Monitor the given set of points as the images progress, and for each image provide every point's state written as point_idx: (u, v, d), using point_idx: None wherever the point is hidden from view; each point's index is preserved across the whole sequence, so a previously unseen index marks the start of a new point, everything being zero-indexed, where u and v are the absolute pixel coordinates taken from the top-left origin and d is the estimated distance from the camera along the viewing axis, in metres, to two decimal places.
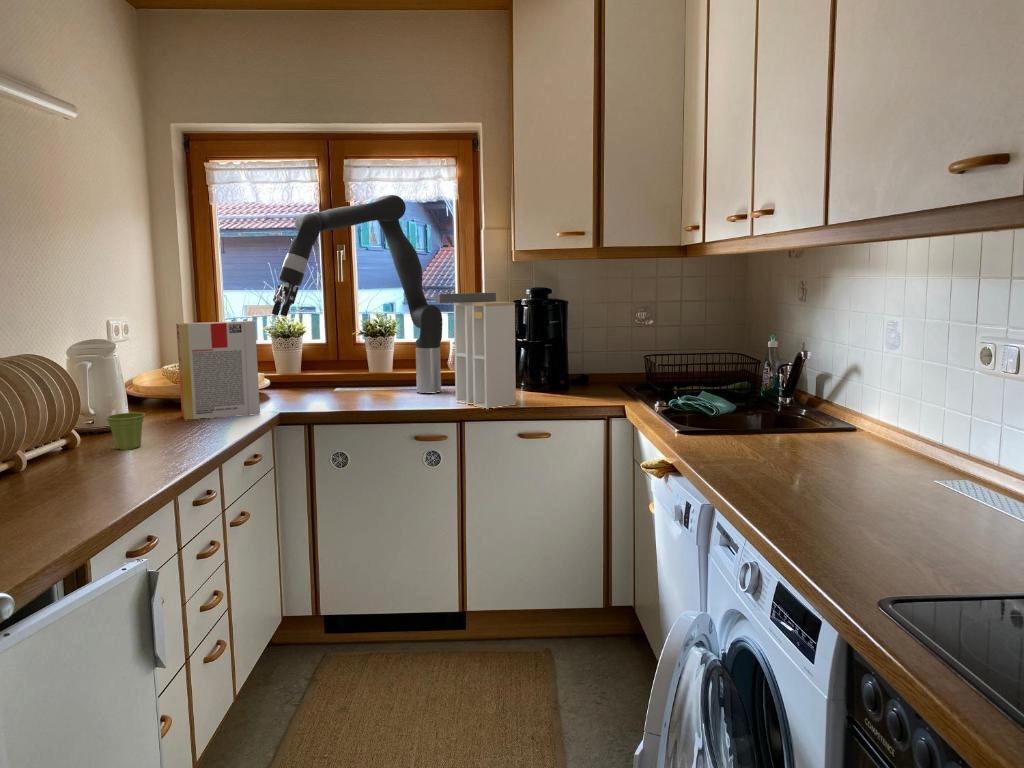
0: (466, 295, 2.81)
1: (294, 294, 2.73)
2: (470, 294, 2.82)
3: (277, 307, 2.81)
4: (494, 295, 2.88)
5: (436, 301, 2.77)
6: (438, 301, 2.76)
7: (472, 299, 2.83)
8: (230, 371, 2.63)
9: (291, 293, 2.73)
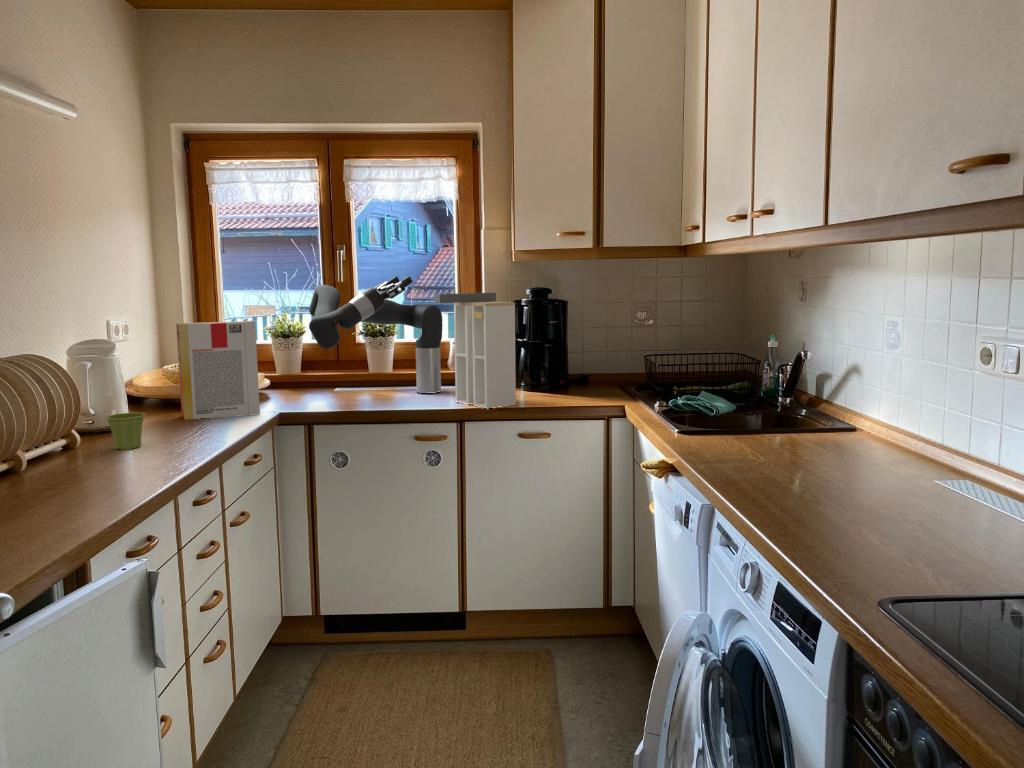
0: (466, 295, 2.81)
1: (396, 289, 2.61)
2: (470, 294, 2.82)
3: (392, 283, 2.72)
4: (494, 295, 2.88)
5: (436, 301, 2.77)
6: (438, 301, 2.76)
7: (472, 299, 2.83)
8: (230, 371, 2.63)
9: (397, 292, 2.61)
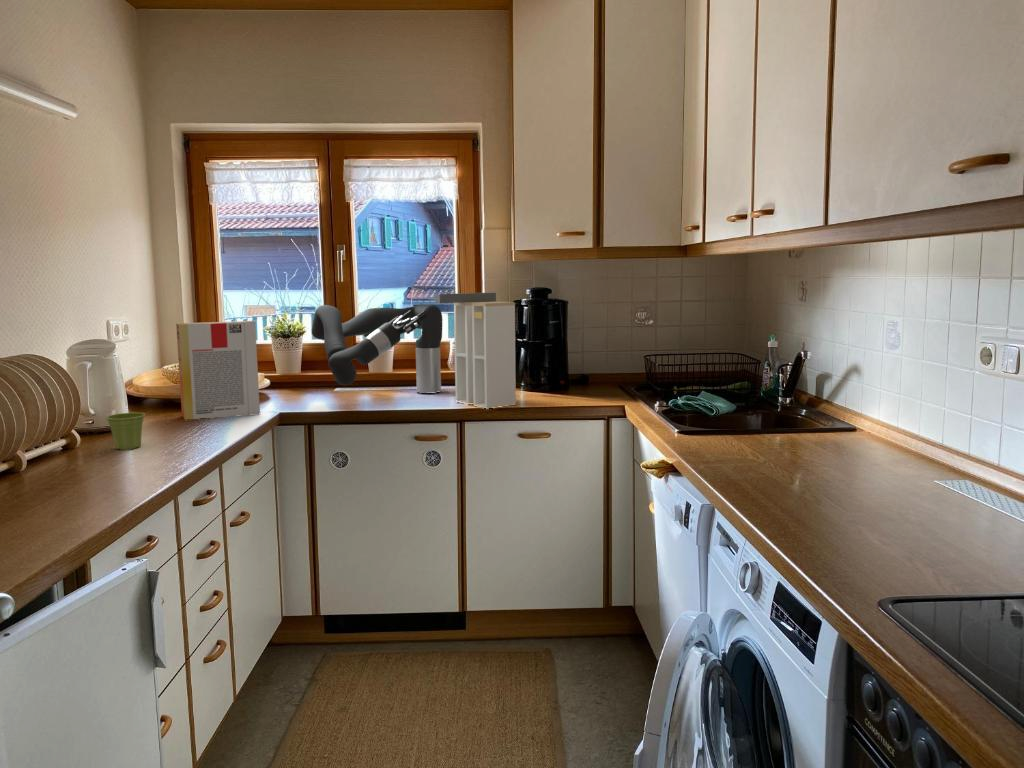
0: (466, 295, 2.81)
1: (412, 324, 2.64)
2: (470, 294, 2.82)
3: (407, 317, 2.75)
4: (494, 295, 2.88)
5: (436, 301, 2.77)
6: (438, 301, 2.76)
7: (472, 299, 2.83)
8: (230, 371, 2.63)
9: (414, 327, 2.64)
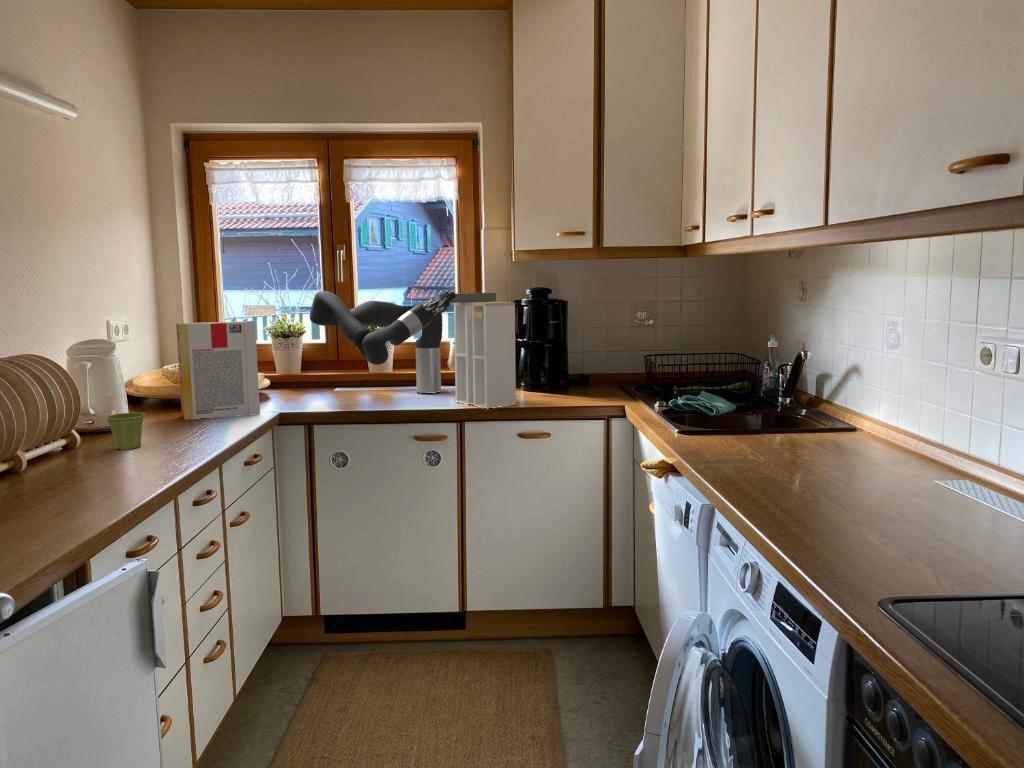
0: (466, 295, 2.81)
1: (444, 304, 2.72)
2: (470, 294, 2.82)
3: None
4: (494, 295, 2.88)
5: None
6: None
7: (472, 299, 2.83)
8: (230, 371, 2.63)
9: (445, 306, 2.72)
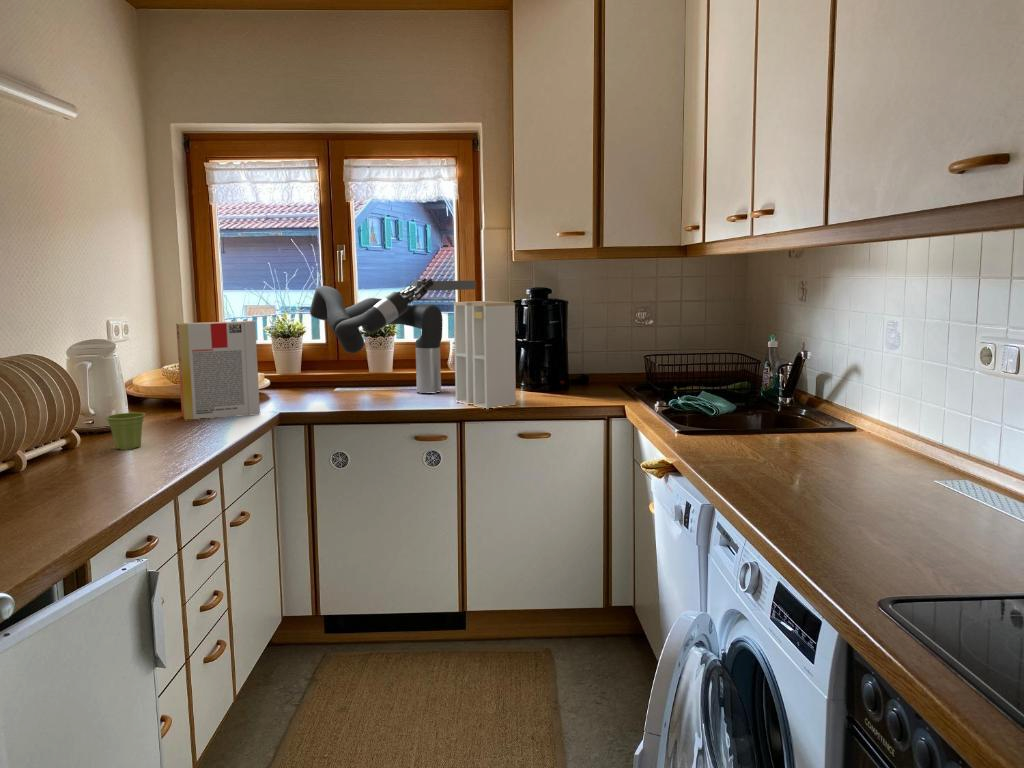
0: (445, 283, 2.75)
1: (421, 291, 2.65)
2: (449, 281, 2.76)
3: None
4: (474, 283, 2.82)
5: None
6: None
7: (451, 287, 2.76)
8: (230, 371, 2.63)
9: (422, 294, 2.65)
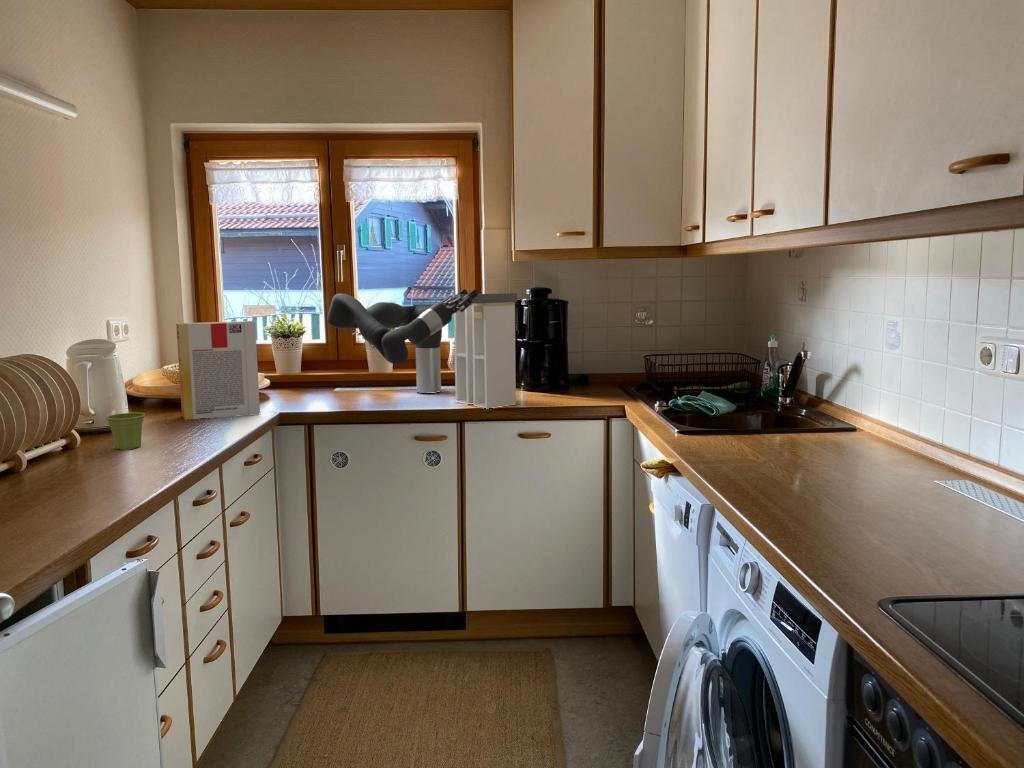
0: (487, 296, 2.73)
1: (465, 302, 2.62)
2: (491, 294, 2.74)
3: None
4: (515, 295, 2.80)
5: None
6: (459, 302, 2.68)
7: (493, 300, 2.75)
8: (230, 371, 2.63)
9: (466, 305, 2.63)
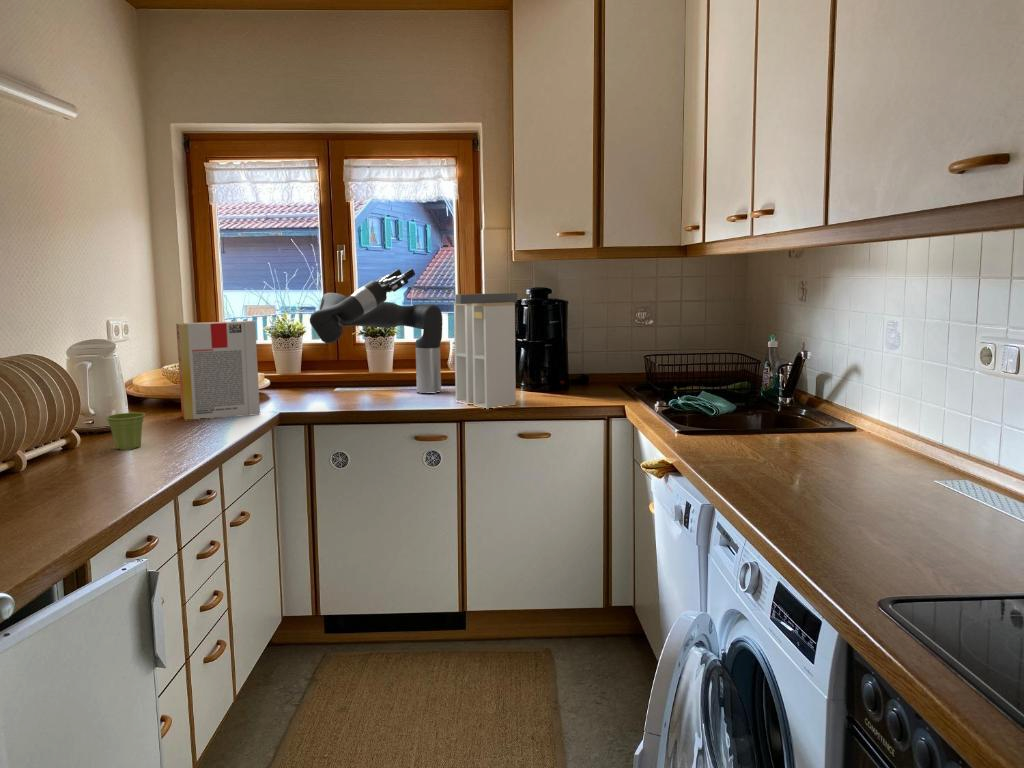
0: (487, 296, 2.73)
1: (399, 282, 2.55)
2: (491, 294, 2.74)
3: (394, 276, 2.66)
4: (515, 295, 2.80)
5: (457, 302, 2.69)
6: (459, 302, 2.68)
7: (493, 300, 2.75)
8: (230, 371, 2.63)
9: (400, 285, 2.56)
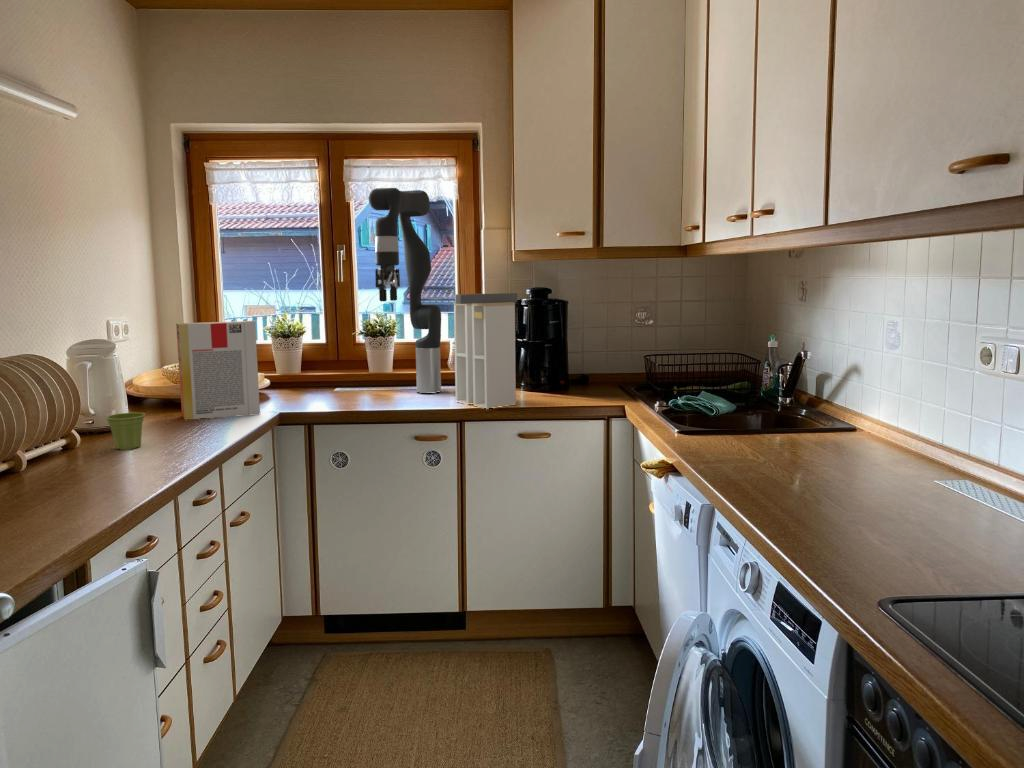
0: (487, 296, 2.73)
1: (380, 277, 2.63)
2: (491, 294, 2.74)
3: (392, 292, 2.74)
4: (515, 295, 2.80)
5: (457, 302, 2.69)
6: (459, 302, 2.68)
7: (493, 300, 2.75)
8: (230, 371, 2.63)
9: (377, 277, 2.63)
